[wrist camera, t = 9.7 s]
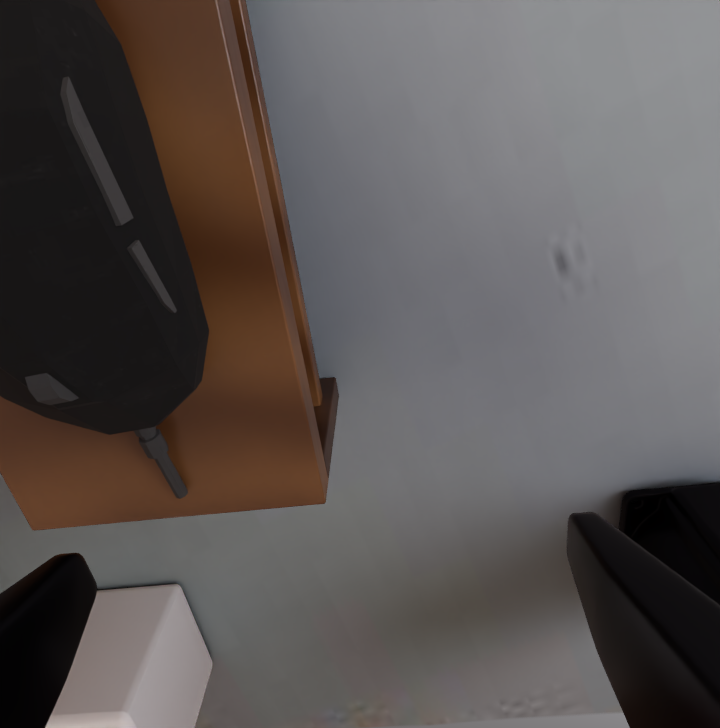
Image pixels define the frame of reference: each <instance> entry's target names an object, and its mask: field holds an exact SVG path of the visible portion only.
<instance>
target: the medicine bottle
mask: <svg viewBox="0 0 720 728" xmlns="http://www.w3.org/2000/svg"><path fill="white" fill-rule="evenodd" d="M212 665H213V662H212V659H211V657H210V654H209V652H208V650H207V647H206V645H205V643H204V640H203V638H202V635H201V633H200V631H199V628H198V626H197V623H196V621H195V619H194V616H193V614H192V612H191V609H190V607H189V604H188V602H187V600H186V597H185V595H184V592H183V590H182V588H181V587H180V585H178V584H170V585H158V586H146V587H134V588H122V589H110V590H98V591H97V593H96V598H95V601H94V604H93V607H92V609H91V612H90V615H89V618H88V621H87V624H86V627H85V629H84V632H83V635H82V638H81V641H80V644H79V647H78V649H77V652H76V655H75V658H74V661H73V664H72V666H71V669H70V672H69V674H68V677H67V680H66V682H65V684H64V687H63V689H62V692H61V694H60V696H59V698H58V701H57V703H56V705H55V707H54V709H53V712H52V714H51V716H50V718H49V720H48V723H47V725H46V727H45V728H195V724H196V721H197V717H198V714H199V711H200V707H201V704H202V700H203V697H204V694H205V690H206V687H207V683H208V680H209V677H210V673H211V670H212Z"/></svg>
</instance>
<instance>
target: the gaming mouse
mask: <svg viewBox="0 0 720 728" xmlns="http://www.w3.org/2000/svg"><path fill="white" fill-rule="evenodd" d="M208 336H209V328H208V324H207V320H206V316H205V313H204V309H203V305H202V301H201V298H200V294H199V290H198V286H197V283H196V279H195V275H194V271H193V268H192V264H191V261H190V258H189V255H188V252H187V249H186V246H185V243H184V240H183V237H182V234H181V231H180V227H179V224H178V221H177V218H176V215H175V212H174V209H173V206H172V203H171V200H170V197H169V194H168V191H167V187H166V184H165V180H164V177H163V173H162V170H161V166H160V163H159V159H158V156H157V152H156V149H155V145H154V141H153V138H152V134H151V131H150V127H149V124H148V120H147V117H146V114H145V111H144V109H143V106H142V103H141V100H140V97H139V94H138V91H137V88H136V86H135V83H134V80H133V77H132V74H131V71H130V68H129V65H128V63H127V60H126V57H125V54H124V51H123V48H122V45H121V43H120V42H119V40H118V38H117V37H116V35H115V33H114V32H113V30H112V28H111V27H110V25H109V23H108V22H107V20H106V18H105V17H104V15H103V13H102V12H101V10H100V8H99V7H98V5H97V3H96V2H95V0H0V396H1V397H2V398H4V399H6V400H8V401H10V402H13V403H15V404H17V405H19V406H21V407H24V408H26V409H28V410H30V411H32V412H35V413H37V414H39V415H41V416H43V417H46V418H49V419H53V420H57V421H60V422H64V423H68V424H71V425H75V426H79V427H82V428H86V429H90V430H94V431H97V432H101V433H105V434H108V435H112V434H117V433H123V432H129V431H134V433H135V434H136V436H137V437H139V443H140V445H141V447H142V448H143V450H144V452H145V454H146V455H147V457H148V458H149V459H154V460H155V461H156V463H157V465H158V467H159V468H160V470H161V472H162V474H163V475H164V477H165V479H166V481H167V482H168V484H169V486H170V488H171V489H172V491H173V493H174V495H175V496H176V498H179V499H181V498H183V497H185V496H186V495H187V494H188V490H187V488H186V486H185V484H184V483H183V481H182V479H181V477H180V475H179V474H178V472H177V470H176V468H175V466H174V464H173V463H172V461H171V459H170V457H169V455H168V454H167V451H168V450H169V449H168V444H167V442H166V441H165V439H164V437H163V435H162V433H161V431H160V429H156V426H157V425H159V424H160V423H161V422H162V421H163V420H165V419H166V418H167V417H168V416H169V415H170V414H171V413H172V412H173V411H174V410H175V409H176V408H177V407H178V406H179V405H180V404H181V403H182V402H183V401H184V400H185V399H186V398H187V397H188V396H189V395H190V394H192V393H193V392H194V391H195V390H196V388H197V387H198V385H199V384H200V383H201V381H202V377H203V370H204V363H205V356H206V349H207V343H208Z"/></svg>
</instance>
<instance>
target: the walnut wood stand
mask: <svg viewBox="0 0 720 728" xmlns="http://www.w3.org/2000/svg"><path fill="white" fill-rule="evenodd" d="M95 2H96V3H97V5H98V7H99V8H100V10H101V12H102V13H103V15H104V17H105V18H106V20H107V22H108V23H109V25H110V27H111V28H112V30H113V32H114V33H115V35H116V37H117V38H118V40H119V42H120V43H121V45H122V48H123V51H124V54H125V57H126V60H127V63H128V65H129V68H130V71H131V74H132V77H133V80H134V83H135V86H136V88H137V91H138V94H139V97H140V100H141V103H142V106H143V109H144V111H145V114H146V117H147V120H148V124H149V127H150V131H151V134H152V138H153V141H154V145H155V149H156V152H157V156H158V159H159V163H160V166H161V170H162V173H163V177H164V180H165V184H166V187H167V191H168V194H169V197H170V200H171V203H172V206H173V209H174V212H175V215H176V218H177V221H178V224H179V227H180V231H181V234H182V237H183V240H184V243H185V246H186V249H187V252H188V255H189V258H190V261H191V264H192V268H193V271H194V275H195V279H196V283H197V286H198V290H199V294H200V298H201V301H202V305H203V309H204V313H205V316H206V320H207V324H208V328H209V336H208V343H207V349H206V356H205V363H204V370H203V377H202V381H201V383H200V384H199V385H198V387H197V388H196V390H195V391H194V392H193V393H192V394H190V395H189V396H188V397H187V398H186V399H185V400H184V401H183V402H182V403H181V404H180V405H179V406H178V407H177V408H176V409H175V410H174V411H173V412H172V413H171V414H170V415H169V416H168V417H167V418H166V419H165V420H163V421H162V422H161V423H160V424H159V425H157V426H156V429H160V431H161V433H162V435H163V437H164V439H165V441H166V442H167V444H168V449H169V450H168V451H167V454H168V455H169V457H170V459H171V461H172V463H173V464H174V466H175V468H176V470H177V472H178V474H179V475H180V477H181V479H182V481H183V483H184V484H185V486H186V488H187V490H188V494H187V495H186V496H185V497H183V498H181V499H179V498H176V496H175V495H174V493H173V491H172V489H171V488H170V486H169V484H168V482H167V481H166V479H165V477H164V475H163V474H162V472H161V470H160V468H159V467H158V465H157V463H156V461H155V460H154V459H149V458H148V457H147V455H146V454H145V452H144V450H143V448H142V447H141V445H140V443H139V437H137V436H136V434H135V433H134V431H129V432H123V433H117V434H112V435H108V434H105V433H101V432H97V431H94V430H90V429H86V428H82V427H79V426H75V425H71V424H68V423H64V422H60V421H57V420H53V419H49V418H46V417H43V416H41V415H39V414H37V413H35V412H32V411H30V410H28V409H26V408H24V407H21V406H19V405H17V404H15V403H13V402H10V401H8V400H6V399H4V398H2V397H1V396H0V473H1V475H2V476H3V478H4V480H5V482H6V484H7V485H8V487H9V489H10V491H11V493H12V494H13V496H14V498H15V500H16V502H17V503H18V505H19V507H20V509H21V511H22V512H23V514H24V516H25V518H26V519H27V521H28V523H29V525H30V527H31V528H32V530H44V529H55V528H66V527H77V526H87V525H98V524H109V523H120V522H131V521H141V520H152V519H163V518H174V517H185V516H195V515H206V514H217V513H228V512H239V511H249V510H260V509H271V508H282V507H293V506H303V505H314V504H324V503H325V502H326V495H327V487H328V478H329V471H330V463H331V454H332V446H333V438H334V430H335V422H336V414H337V406H338V398H339V394H338V388H337V383H336V378H335V377H332V378H323V379H319V375H318V370H317V365H316V360H315V354H314V349H313V344H312V339H311V334H310V329H309V324H308V319H307V313H306V308H305V303H304V298H303V293H302V288H301V283H300V278H299V272H298V267H297V262H296V257H295V252H294V247H293V242H292V237H291V231H290V226H289V221H288V216H287V211H286V206H285V201H284V196H283V190H282V185H281V180H280V175H279V170H278V165H277V160H276V155H275V150H274V144H273V139H272V134H271V129H270V124H269V119H268V114H267V109H266V103H265V98H264V93H263V88H262V83H261V78H260V73H259V68H258V62H257V57H256V52H255V47H254V42H253V37H252V32H251V27H250V21H249V16H248V11H247V6H246V1H245V0H95Z"/></svg>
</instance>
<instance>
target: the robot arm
mask: <svg viewBox="0 0 720 728" xmlns="http://www.w3.org/2000/svg"><path fill="white" fill-rule="evenodd" d="M635 500H637V501H636V502H634V501H635ZM632 502H633V503H632ZM567 556H568V561H569V565H570V568H571V571H572V574H573V577H574V580H575V584H576V587H577V590H578V593H579V596H580V599H581V603H582V606H583V609H584V612H585V615H586V618H587V622H588V625H589V628H590V631H591V634H592V637H593V640H594V643H595V646H596V649H597V652H598V655H599V657H600V660H601V662H602V664H603V667H604V669H605V671H606V674H607V676H608V678H609V681H610V683H611V685H612V688H613V690H614V692H615V694H616V697H617V699H618V701H619V704H620V706H621V708H622V710H623V713H624V715H625V717H626V720H627V722H628V724H629V726H630V728H720V483H710V484H699V485H688V486H677V487H665V488H654V489H643V490H633V491H629V492H628V493H626V494H625V495H624V496H623V499H622V506H621V514H620V523H619V530H618V529H617V528H615V527H614V526H613V525H611V524H610V523H609V522H607V521H606V520H605V519H603V518H602V517H601V516H599V515H598V514H596V513H594V512H583V513H573V514H571V515H570V516H569V518H568V531H567ZM96 593H97V585H96V581H95V579H94V577H93V575H92V573H91V571H90V569H89V567H88V565H87V563H86V561H85V559H84V558H83V556H82V555H80V554H79V553H68V554H59V555H56V556H54V557H52V558H51V559H49V560H48V561H47V562H45V563H44V564H42V565H41V566H39V567H38V568H37V569H35V570H34V571H32V572H31V573H29V574H28V575H27V576H25V577H24V578H22V579H21V580H19V581H18V582H17V583H15V584H14V585H12V586H11V587H9V588H8V589H7V590H5V591H4V592H2V593H1V594H0V728H45V727H46V725H47V723H48V720H49V718H50V716H51V714H52V712H53V709H54V707H55V705H56V703H57V701H58V698H59V696H60V694H61V692H62V689H63V687H64V684H65V682H66V680H67V677H68V674H69V672H70V669H71V666H72V664H73V661H74V658H75V655H76V652H77V649H78V647H79V644H80V641H81V638H82V635H83V632H84V629H85V627H86V624H87V621H88V618H89V615H90V612H91V609H92V607H93V604H94V601H95V598H96Z"/></svg>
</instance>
